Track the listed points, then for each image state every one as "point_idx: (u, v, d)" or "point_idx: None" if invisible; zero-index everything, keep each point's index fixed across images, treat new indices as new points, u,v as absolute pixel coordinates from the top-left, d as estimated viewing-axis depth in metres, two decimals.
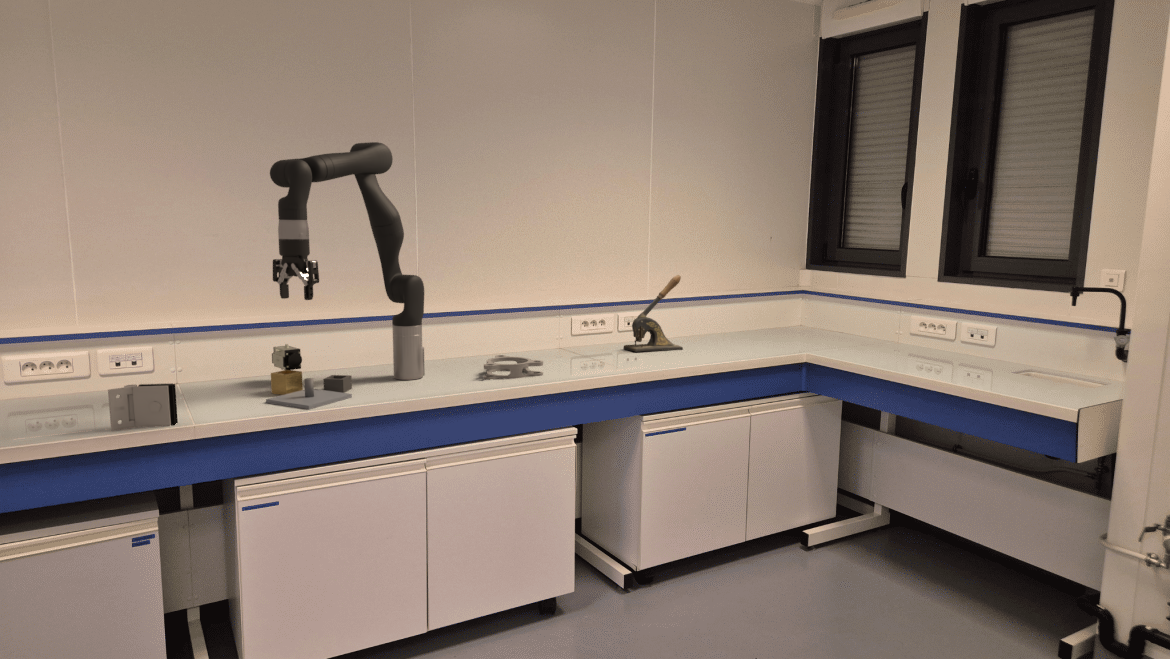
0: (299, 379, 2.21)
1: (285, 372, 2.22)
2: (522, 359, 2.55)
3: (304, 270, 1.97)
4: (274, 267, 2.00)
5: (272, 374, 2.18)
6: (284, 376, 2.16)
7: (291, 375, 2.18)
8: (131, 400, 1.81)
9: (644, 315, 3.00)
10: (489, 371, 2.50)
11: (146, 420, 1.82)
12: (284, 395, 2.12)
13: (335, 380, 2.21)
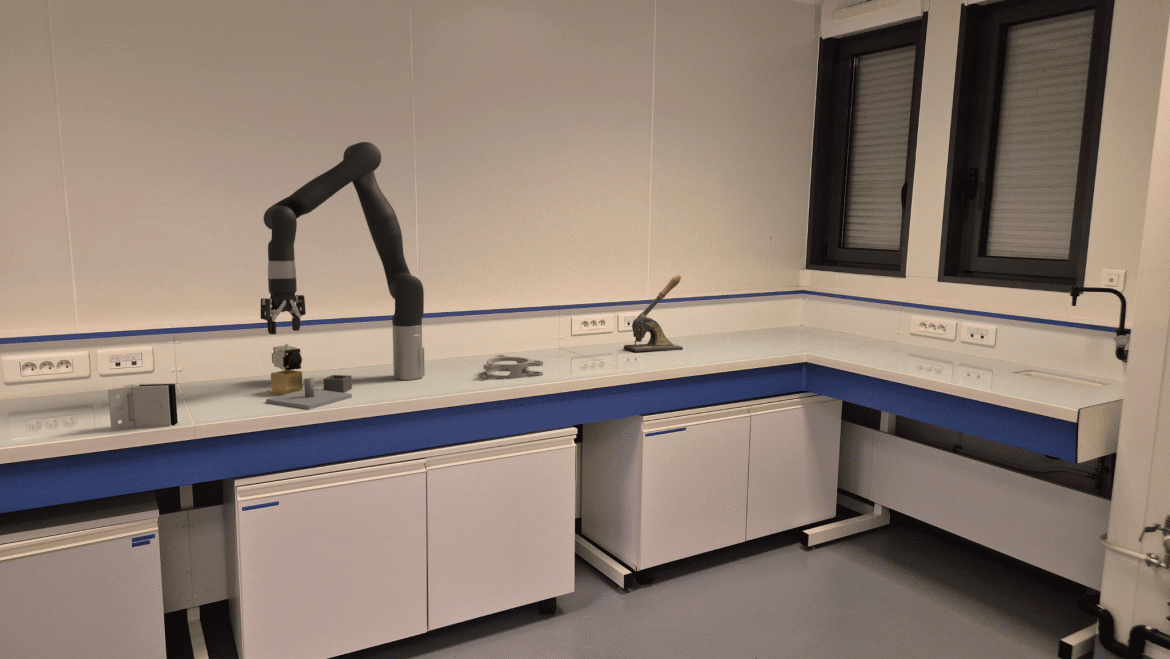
0: (299, 379, 2.21)
1: (285, 372, 2.22)
2: (522, 359, 2.55)
3: None
4: (268, 306, 2.11)
5: (272, 374, 2.18)
6: (284, 376, 2.16)
7: (291, 375, 2.18)
8: (131, 400, 1.81)
9: (644, 315, 3.00)
10: (489, 371, 2.50)
11: (146, 420, 1.82)
12: (284, 395, 2.12)
13: (335, 380, 2.21)
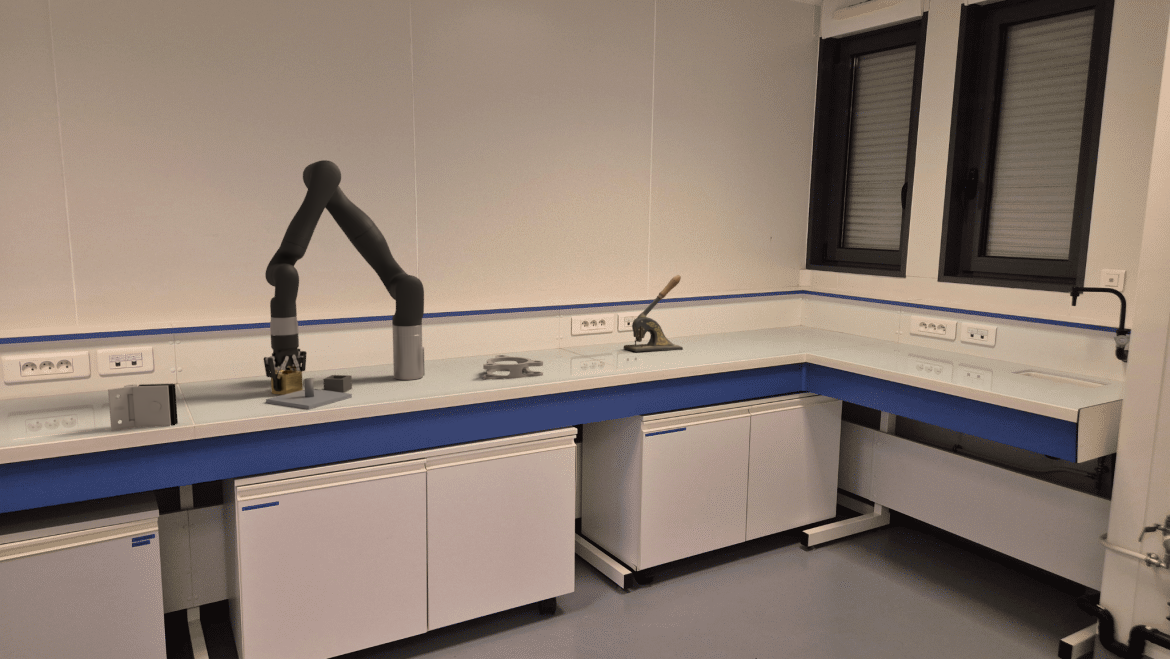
0: (299, 379, 2.21)
1: (285, 372, 2.22)
2: (522, 359, 2.55)
3: None
4: (272, 364, 2.14)
5: None
6: (284, 376, 2.16)
7: (291, 375, 2.18)
8: (131, 400, 1.81)
9: (644, 315, 3.00)
10: (489, 371, 2.50)
11: (146, 420, 1.82)
12: (284, 395, 2.12)
13: (335, 380, 2.21)
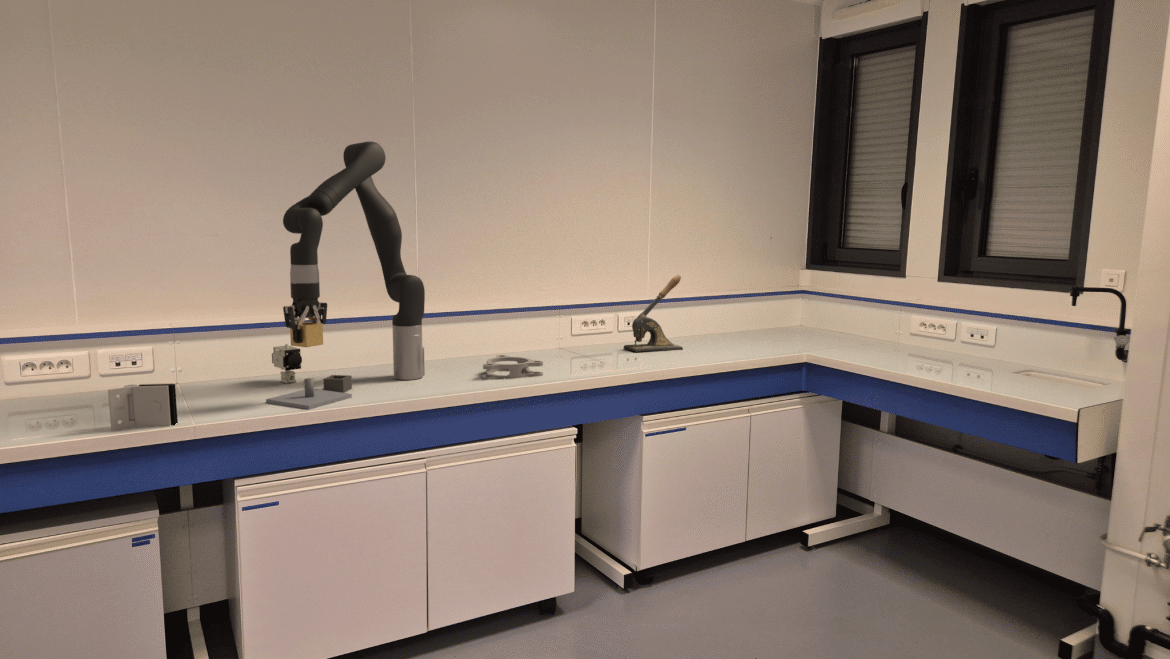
0: (320, 331, 2.09)
1: (305, 324, 2.11)
2: (523, 359, 2.55)
3: None
4: (292, 314, 2.02)
5: None
6: (304, 327, 2.05)
7: (311, 326, 2.07)
8: (131, 400, 1.81)
9: (644, 315, 3.00)
10: (489, 371, 2.50)
11: (146, 420, 1.82)
12: (284, 395, 2.12)
13: (335, 380, 2.21)
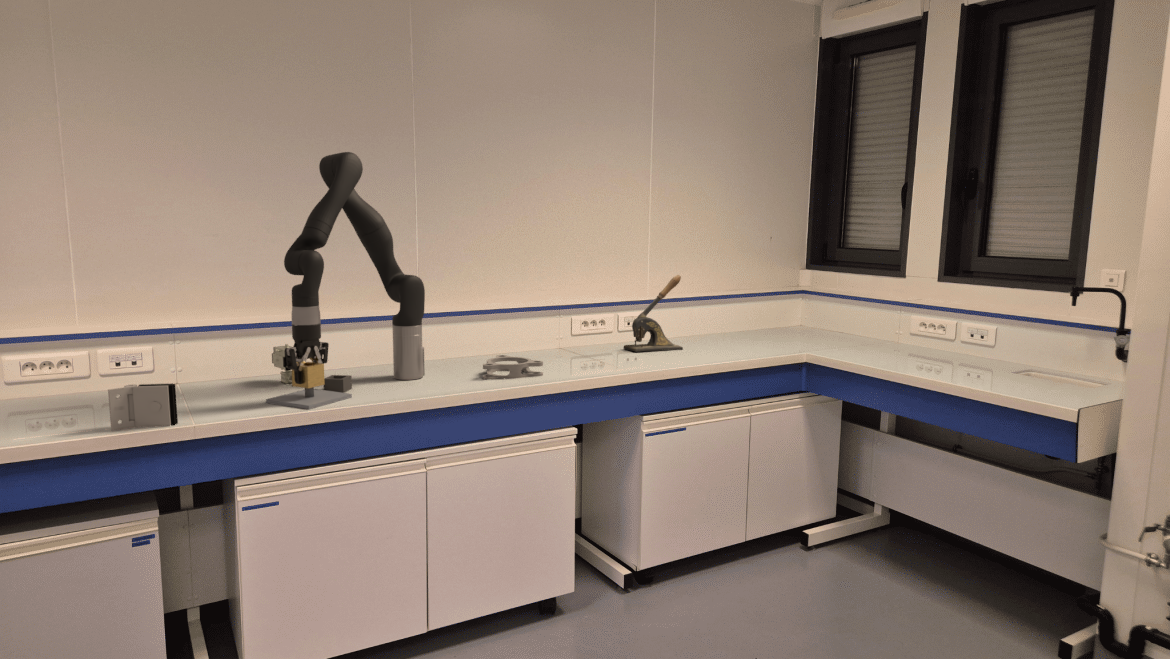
0: (321, 371, 2.11)
1: (306, 364, 2.12)
2: (523, 359, 2.55)
3: None
4: (293, 356, 2.04)
5: None
6: (306, 368, 2.07)
7: (313, 367, 2.08)
8: (131, 400, 1.81)
9: (644, 315, 3.00)
10: (489, 371, 2.50)
11: (146, 420, 1.82)
12: (284, 395, 2.12)
13: (335, 380, 2.21)
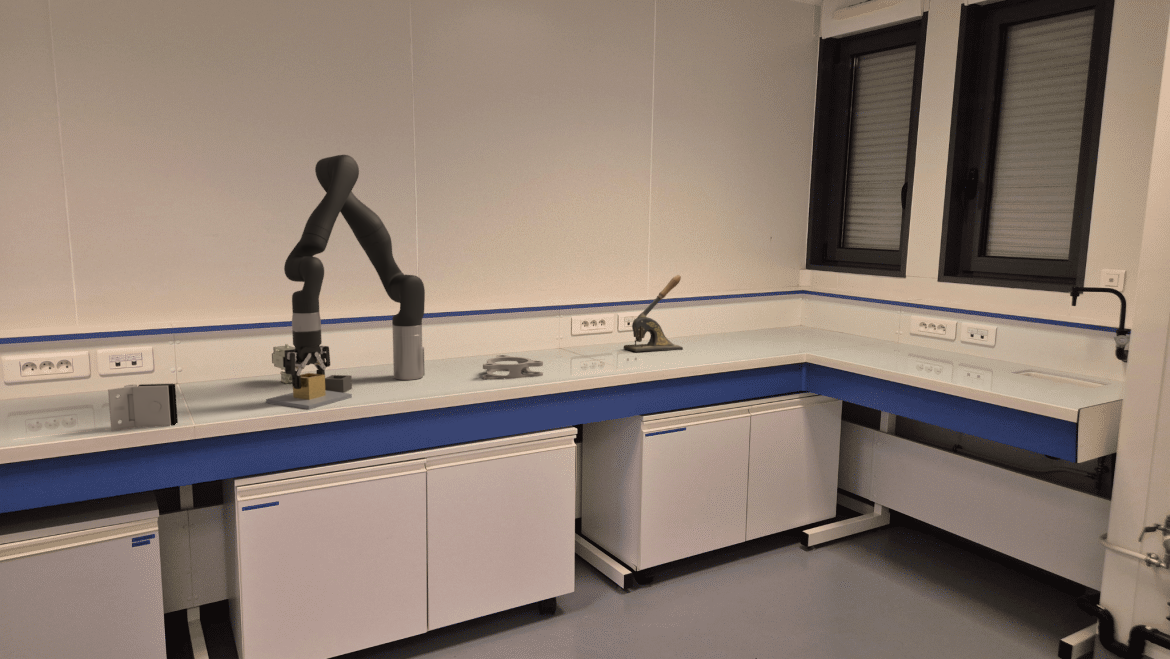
0: (322, 382, 2.11)
1: (307, 375, 2.13)
2: (523, 359, 2.55)
3: None
4: (293, 360, 2.04)
5: None
6: (307, 379, 2.07)
7: (314, 378, 2.09)
8: (131, 400, 1.81)
9: (644, 315, 3.00)
10: (489, 371, 2.50)
11: (146, 420, 1.82)
12: (284, 395, 2.12)
13: (335, 380, 2.21)
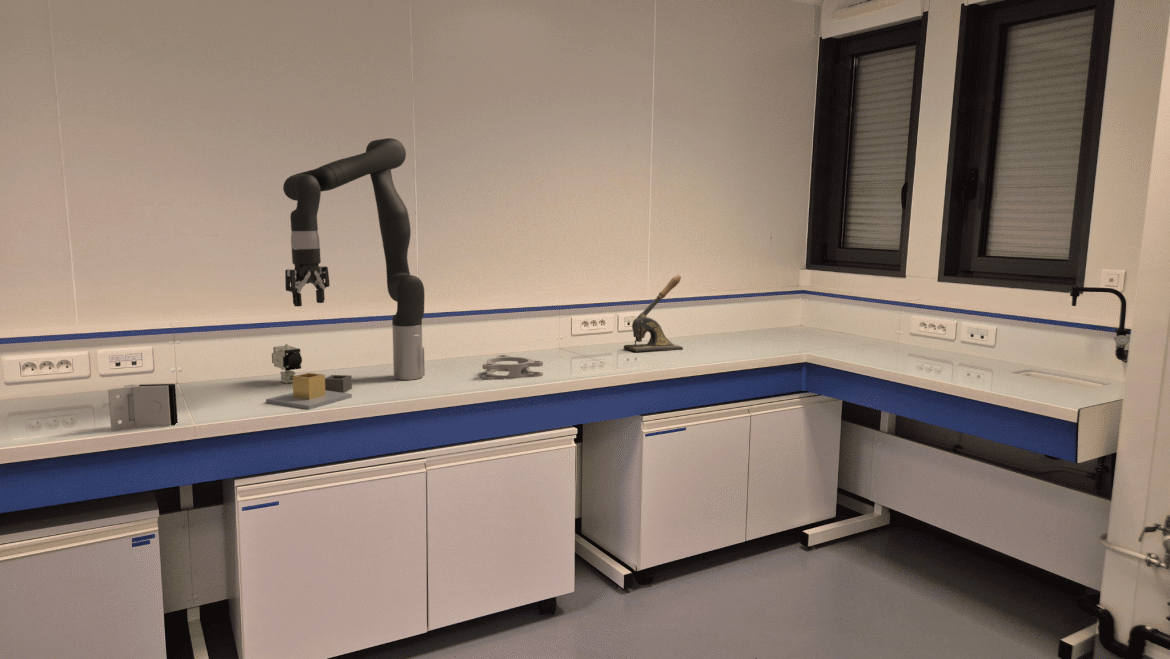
0: (322, 382, 2.11)
1: (307, 375, 2.13)
2: (523, 359, 2.55)
3: None
4: (293, 277, 2.06)
5: (294, 377, 2.09)
6: (307, 379, 2.07)
7: (314, 378, 2.09)
8: (131, 400, 1.81)
9: (644, 315, 3.00)
10: (489, 371, 2.50)
11: (146, 420, 1.82)
12: (284, 395, 2.12)
13: (335, 380, 2.21)
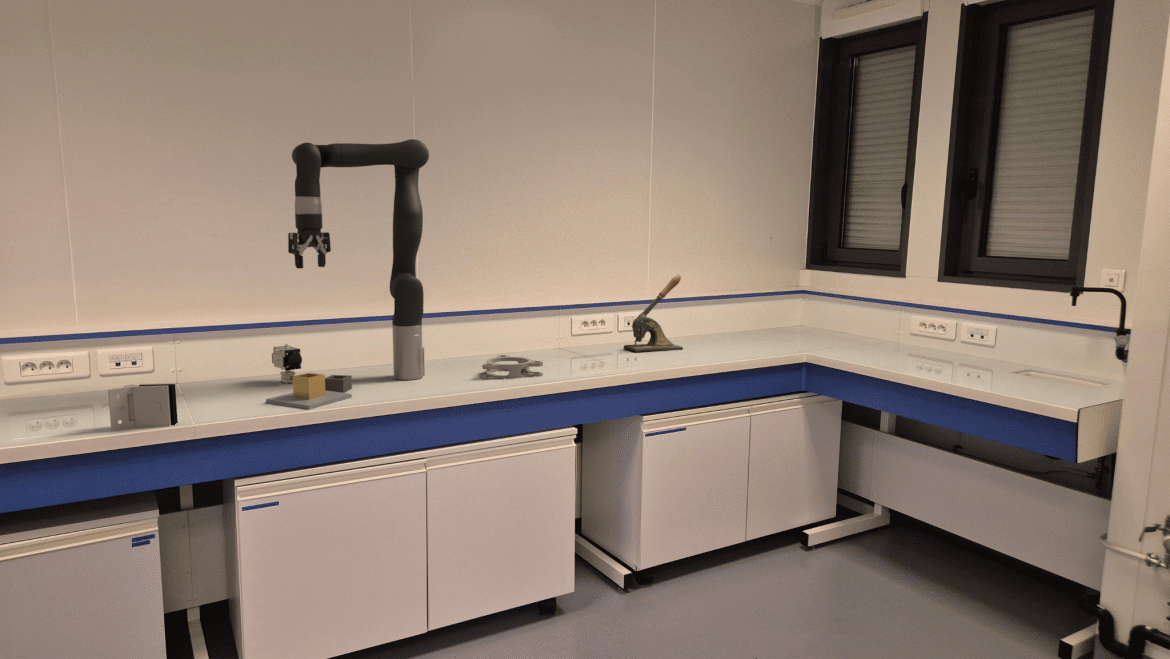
0: (322, 382, 2.11)
1: (307, 375, 2.13)
2: (523, 359, 2.55)
3: None
4: (296, 240, 2.17)
5: (294, 377, 2.09)
6: (307, 379, 2.07)
7: (314, 378, 2.09)
8: (131, 400, 1.81)
9: (644, 315, 3.00)
10: (489, 371, 2.50)
11: (146, 420, 1.82)
12: (284, 395, 2.12)
13: (335, 380, 2.21)
